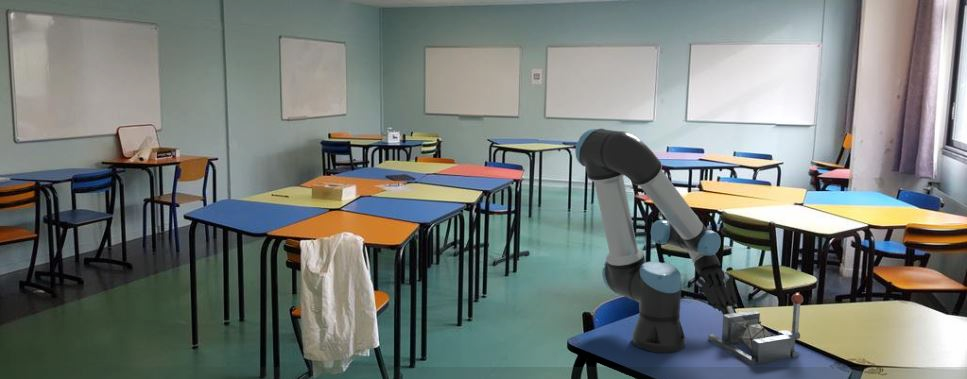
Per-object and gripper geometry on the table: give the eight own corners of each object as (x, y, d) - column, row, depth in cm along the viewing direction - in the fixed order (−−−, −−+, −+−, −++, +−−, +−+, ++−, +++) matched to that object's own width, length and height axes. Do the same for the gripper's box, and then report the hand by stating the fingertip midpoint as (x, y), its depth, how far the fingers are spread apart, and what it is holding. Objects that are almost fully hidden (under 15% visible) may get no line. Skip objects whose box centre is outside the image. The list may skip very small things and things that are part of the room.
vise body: (708, 339, 207) (709, 320, 206) (756, 331, 212) (757, 313, 211) (750, 364, 189) (752, 344, 188) (802, 355, 195) (803, 335, 194)
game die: (761, 364, 198) (778, 346, 191) (732, 352, 199) (749, 334, 192) (762, 339, 204) (779, 321, 197) (735, 328, 205) (750, 309, 198)
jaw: (721, 342, 204) (723, 314, 203) (752, 337, 208) (754, 310, 206) (728, 345, 202) (729, 318, 200) (759, 340, 205) (760, 313, 204)
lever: (786, 338, 200) (789, 292, 198) (795, 336, 201) (798, 291, 199) (794, 341, 197) (797, 296, 195) (802, 340, 198) (805, 294, 196)
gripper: (716, 262, 224) (747, 329, 212) (681, 266, 220) (711, 335, 208) (727, 251, 218) (760, 319, 206) (692, 255, 214) (724, 325, 202)
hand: (736, 327), depth 207 cm, fingers closed
